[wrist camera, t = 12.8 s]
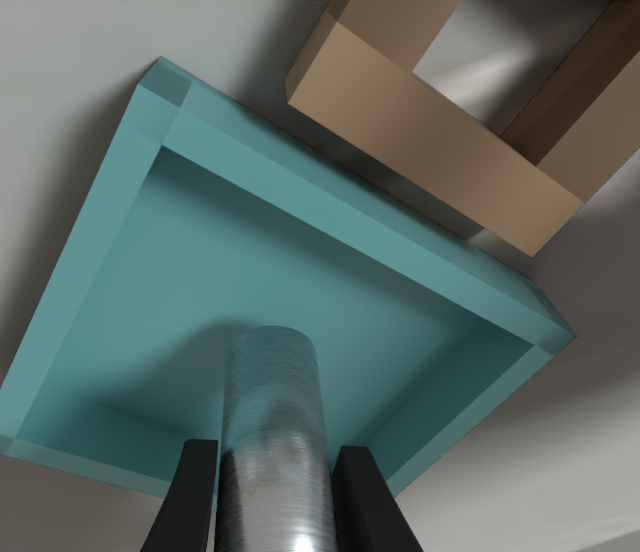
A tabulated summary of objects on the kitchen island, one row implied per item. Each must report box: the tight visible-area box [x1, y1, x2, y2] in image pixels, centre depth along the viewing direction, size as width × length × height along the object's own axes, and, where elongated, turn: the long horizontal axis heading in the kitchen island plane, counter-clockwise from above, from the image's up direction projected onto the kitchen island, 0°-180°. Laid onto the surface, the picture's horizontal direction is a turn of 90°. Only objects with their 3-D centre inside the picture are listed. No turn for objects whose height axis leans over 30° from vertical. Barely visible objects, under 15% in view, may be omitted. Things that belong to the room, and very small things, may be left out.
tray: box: [0, 56, 577, 512], centre depth 15 cm, size 12×11×2 cm
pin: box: [214, 325, 341, 552], centre depth 10 cm, size 3×3×8 cm
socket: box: [284, 0, 640, 257], centre depth 11 cm, size 7×7×2 cm
